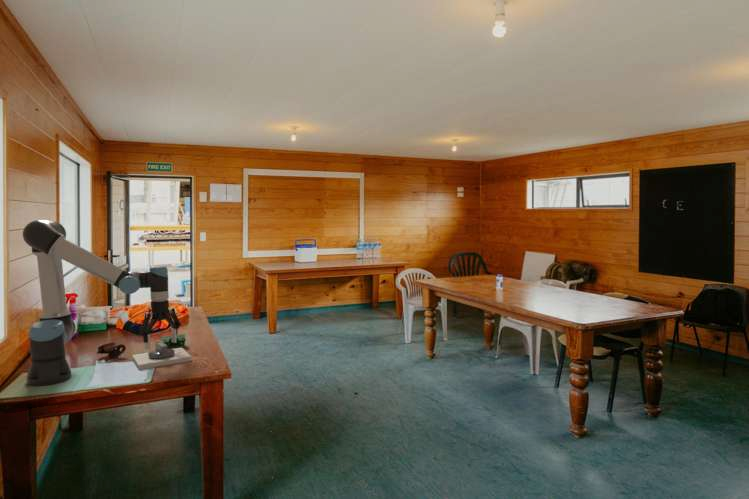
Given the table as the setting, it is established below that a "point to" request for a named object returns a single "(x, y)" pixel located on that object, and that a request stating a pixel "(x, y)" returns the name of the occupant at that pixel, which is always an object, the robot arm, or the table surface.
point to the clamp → (167, 341)
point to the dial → (160, 351)
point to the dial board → (146, 362)
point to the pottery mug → (111, 350)
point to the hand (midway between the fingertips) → (161, 345)
